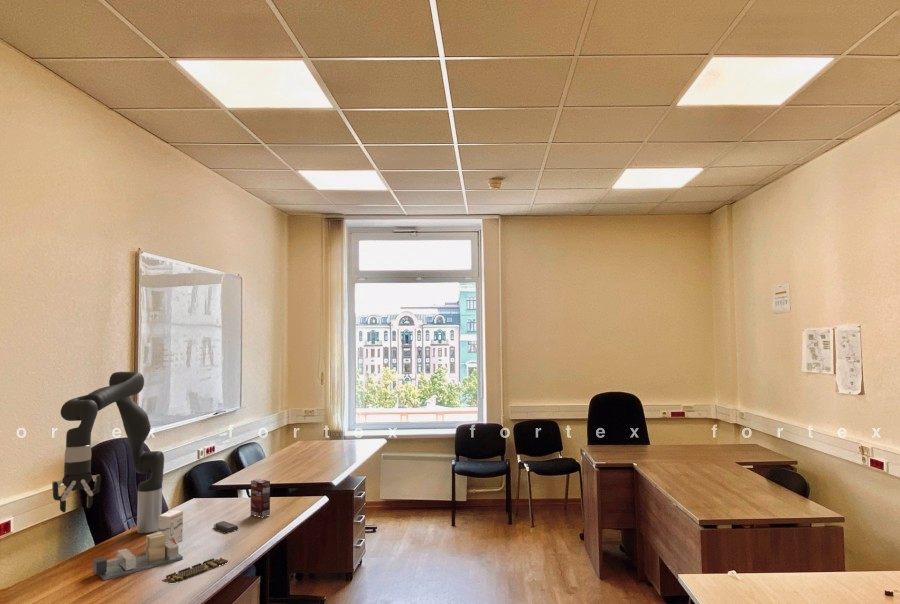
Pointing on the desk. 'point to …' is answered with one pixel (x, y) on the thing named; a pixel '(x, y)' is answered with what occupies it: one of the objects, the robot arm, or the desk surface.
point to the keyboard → (194, 570)
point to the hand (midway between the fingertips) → (76, 509)
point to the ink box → (172, 525)
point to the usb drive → (225, 526)
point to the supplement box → (260, 497)
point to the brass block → (155, 546)
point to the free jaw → (115, 562)
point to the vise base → (145, 562)
